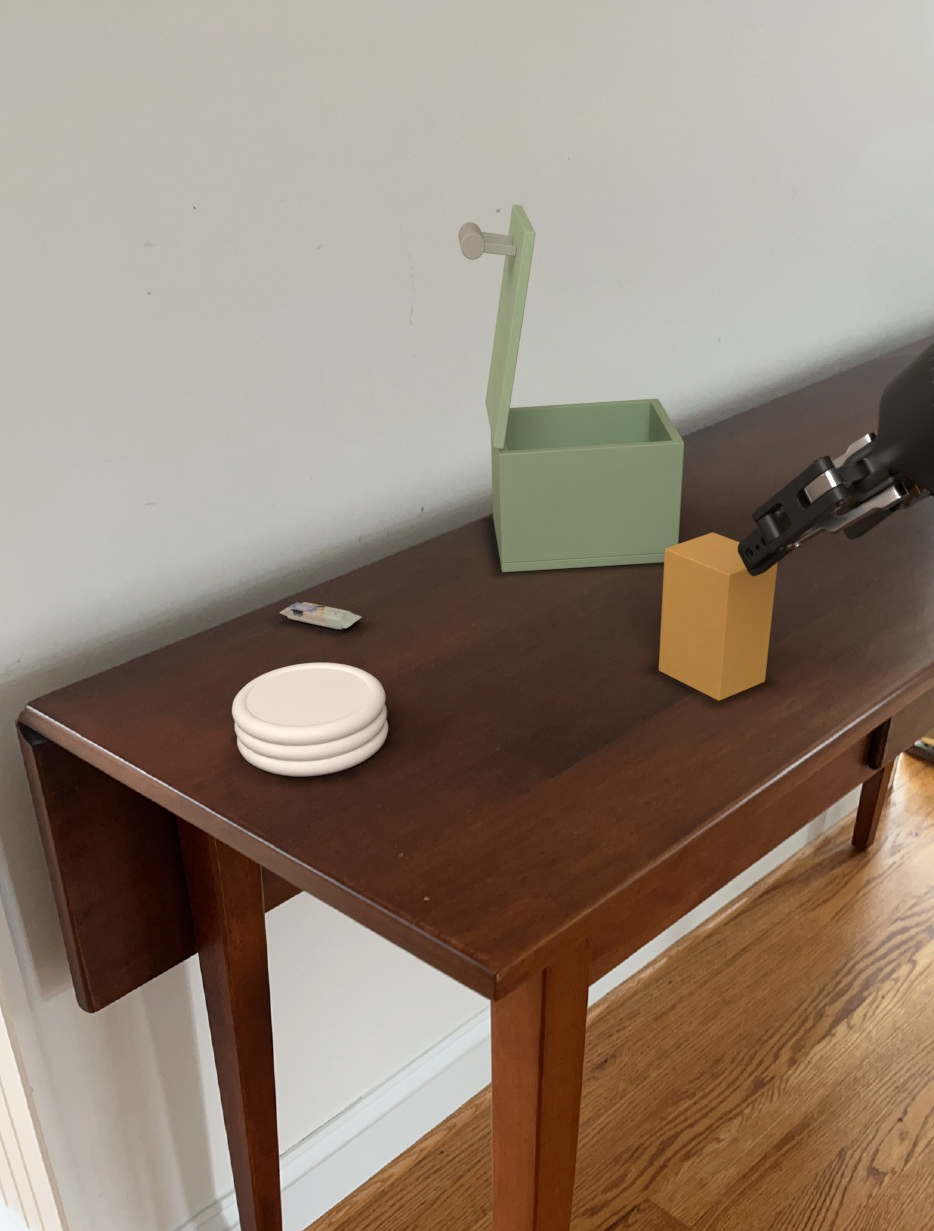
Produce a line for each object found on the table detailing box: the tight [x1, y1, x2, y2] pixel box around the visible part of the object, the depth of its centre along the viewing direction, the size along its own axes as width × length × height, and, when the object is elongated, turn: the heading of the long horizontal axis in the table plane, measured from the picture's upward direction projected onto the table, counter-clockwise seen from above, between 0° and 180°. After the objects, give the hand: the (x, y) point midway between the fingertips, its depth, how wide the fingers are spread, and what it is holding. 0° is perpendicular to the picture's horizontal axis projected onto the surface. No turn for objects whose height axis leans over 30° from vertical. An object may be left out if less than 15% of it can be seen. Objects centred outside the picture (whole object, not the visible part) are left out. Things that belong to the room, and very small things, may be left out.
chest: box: [490, 398, 685, 573], centre depth 107 cm, size 15×13×10 cm
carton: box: [658, 532, 779, 702], centre depth 86 cm, size 4×6×9 cm
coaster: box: [231, 662, 389, 778], centre depth 83 cm, size 10×10×4 cm
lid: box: [458, 204, 536, 449], centre depth 100 cm, size 15×13×5 cm
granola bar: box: [279, 600, 362, 630], centre depth 99 cm, size 7×1×3 cm
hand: (797, 543), depth 77 cm, fingers open, 8 cm apart
